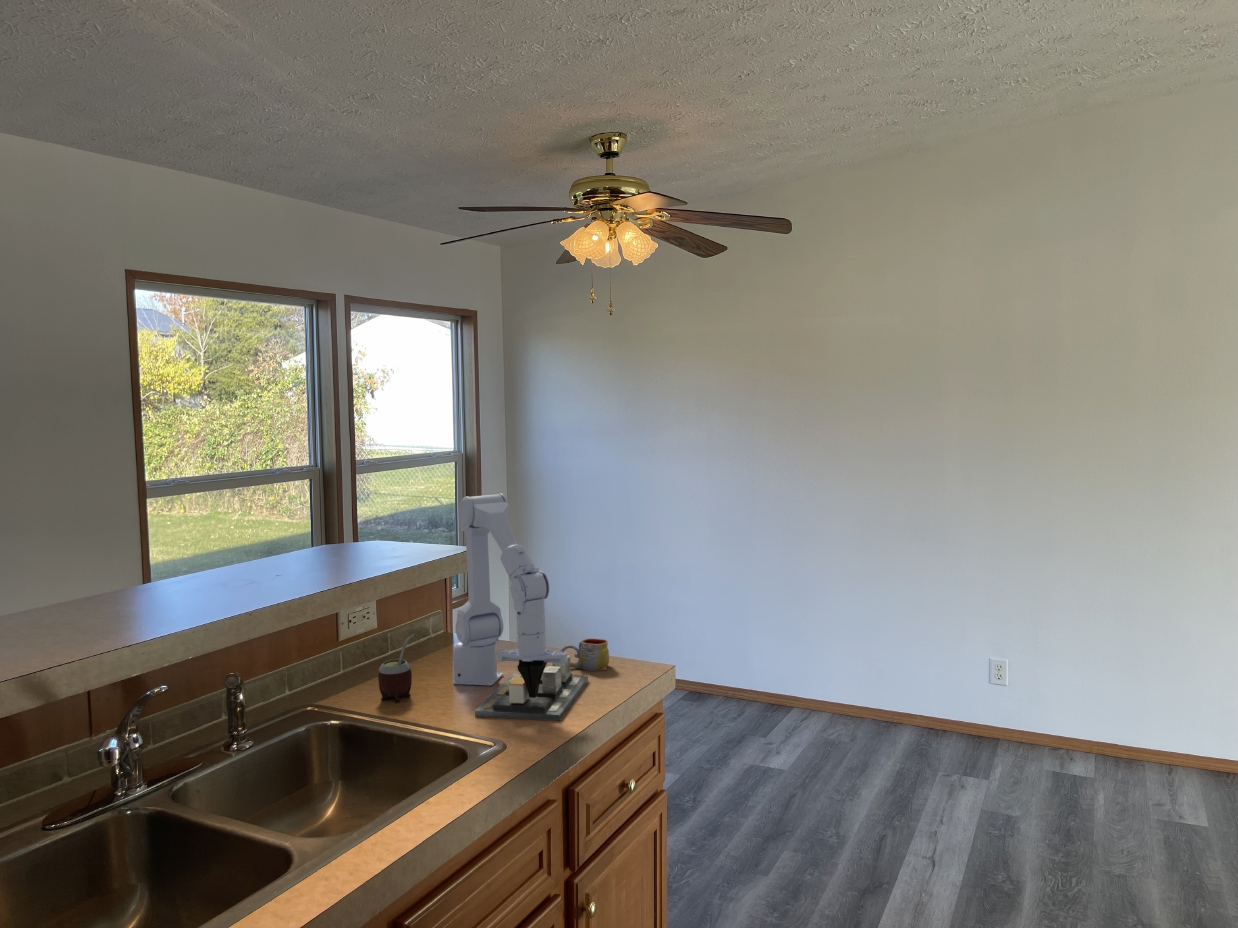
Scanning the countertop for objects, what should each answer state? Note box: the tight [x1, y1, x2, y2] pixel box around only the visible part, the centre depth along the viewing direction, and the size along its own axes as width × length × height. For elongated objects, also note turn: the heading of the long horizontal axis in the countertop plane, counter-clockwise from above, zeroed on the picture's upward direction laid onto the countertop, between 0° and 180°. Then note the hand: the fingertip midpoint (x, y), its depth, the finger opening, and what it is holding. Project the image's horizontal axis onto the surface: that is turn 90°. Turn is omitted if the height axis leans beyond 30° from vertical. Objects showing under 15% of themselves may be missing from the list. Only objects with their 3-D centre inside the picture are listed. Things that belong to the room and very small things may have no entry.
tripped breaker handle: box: [509, 677, 529, 703], centre depth 172 cm, size 3×4×4 cm
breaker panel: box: [474, 655, 589, 722], centre depth 179 cm, size 18×24×6 cm
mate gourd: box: [377, 632, 416, 704], centre depth 181 cm, size 8×8×15 cm
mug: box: [559, 638, 610, 672], centre depth 200 cm, size 12×7×7 cm, turn 93°
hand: (533, 695), depth 171 cm, fingers closed
